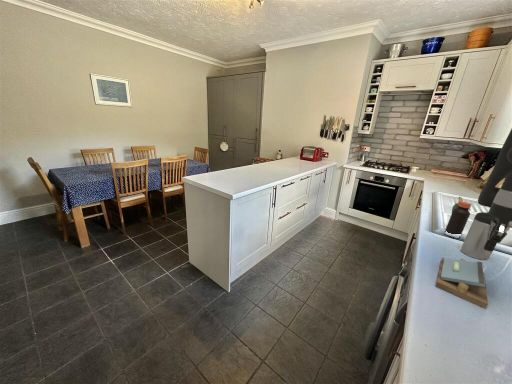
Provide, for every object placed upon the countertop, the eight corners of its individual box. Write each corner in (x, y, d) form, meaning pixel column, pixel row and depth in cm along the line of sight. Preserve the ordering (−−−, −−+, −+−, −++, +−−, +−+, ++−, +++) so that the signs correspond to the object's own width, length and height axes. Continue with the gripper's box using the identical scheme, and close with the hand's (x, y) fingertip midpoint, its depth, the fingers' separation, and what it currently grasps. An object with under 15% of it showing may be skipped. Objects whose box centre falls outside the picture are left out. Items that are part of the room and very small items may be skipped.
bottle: (442, 234, 118) (455, 201, 111) (445, 231, 122) (458, 199, 115) (458, 240, 113) (473, 206, 106) (460, 236, 117) (475, 203, 110)
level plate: (444, 260, 89) (443, 254, 89) (482, 265, 81) (481, 258, 81) (441, 279, 77) (440, 272, 77) (485, 287, 69) (484, 279, 69)
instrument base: (440, 261, 92) (444, 252, 91) (482, 276, 84) (486, 267, 83) (435, 286, 77) (439, 276, 75) (485, 308, 68) (491, 298, 67)
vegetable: (456, 230, 124) (469, 199, 118) (448, 229, 125) (460, 198, 119) (451, 227, 129) (463, 196, 122) (443, 225, 129) (455, 195, 123)
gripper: (532, 213, 61) (506, 262, 66) (523, 203, 70) (501, 248, 75) (495, 205, 66) (473, 252, 71) (491, 197, 75) (472, 239, 80)
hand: (487, 249), depth 73 cm, fingers closed
